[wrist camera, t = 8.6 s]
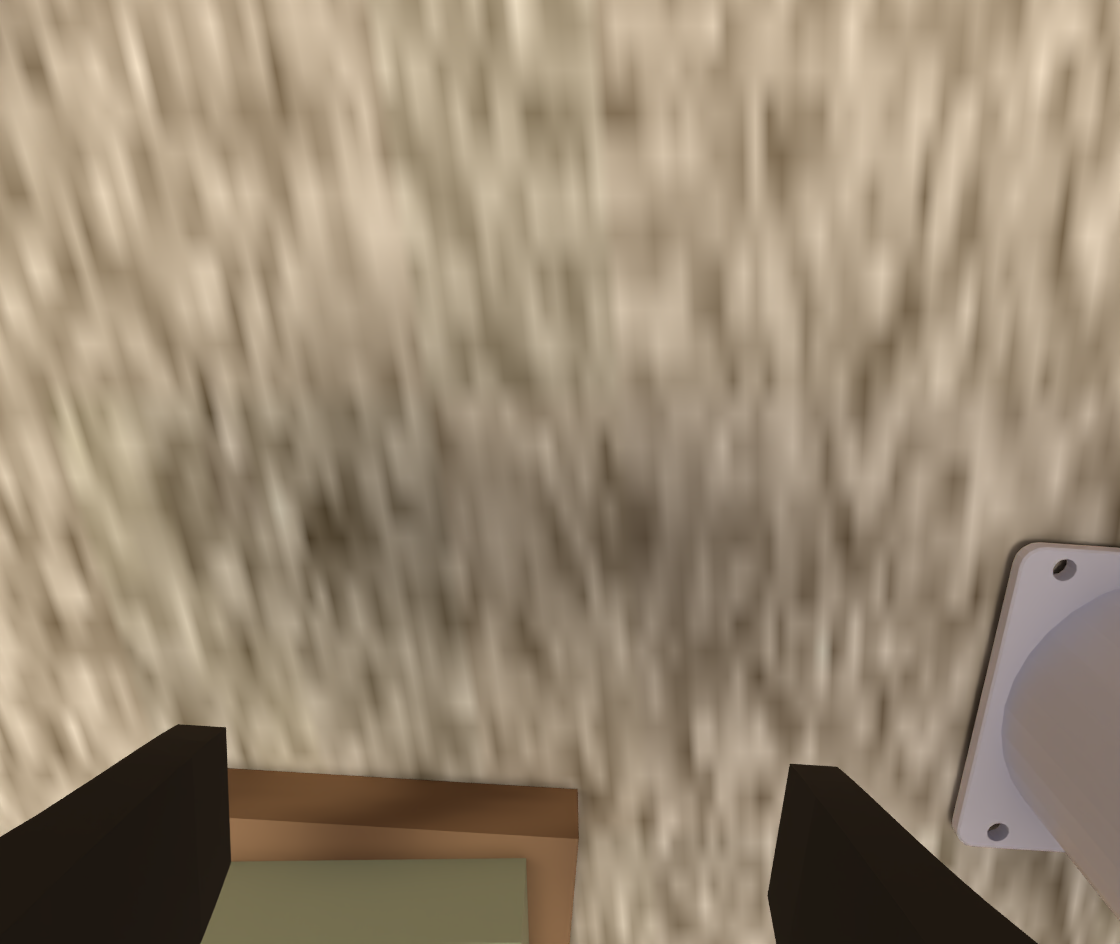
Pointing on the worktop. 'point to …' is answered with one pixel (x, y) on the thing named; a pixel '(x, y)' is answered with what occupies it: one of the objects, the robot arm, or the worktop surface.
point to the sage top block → (372, 902)
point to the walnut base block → (413, 828)
